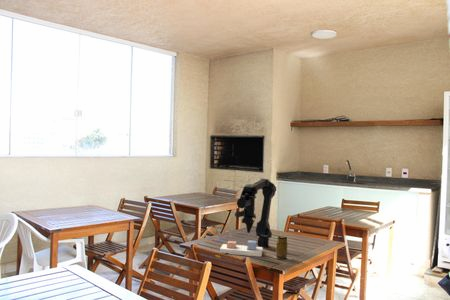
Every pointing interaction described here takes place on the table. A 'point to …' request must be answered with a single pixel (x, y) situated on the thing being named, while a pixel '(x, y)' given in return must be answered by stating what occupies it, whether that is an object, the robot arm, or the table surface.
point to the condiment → (282, 248)
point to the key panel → (242, 250)
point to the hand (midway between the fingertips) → (248, 232)
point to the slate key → (251, 244)
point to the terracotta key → (231, 244)
